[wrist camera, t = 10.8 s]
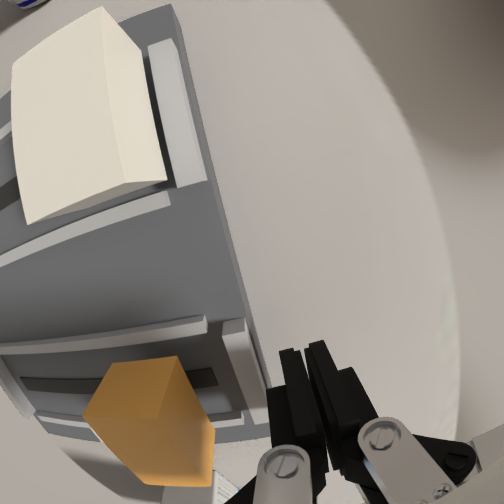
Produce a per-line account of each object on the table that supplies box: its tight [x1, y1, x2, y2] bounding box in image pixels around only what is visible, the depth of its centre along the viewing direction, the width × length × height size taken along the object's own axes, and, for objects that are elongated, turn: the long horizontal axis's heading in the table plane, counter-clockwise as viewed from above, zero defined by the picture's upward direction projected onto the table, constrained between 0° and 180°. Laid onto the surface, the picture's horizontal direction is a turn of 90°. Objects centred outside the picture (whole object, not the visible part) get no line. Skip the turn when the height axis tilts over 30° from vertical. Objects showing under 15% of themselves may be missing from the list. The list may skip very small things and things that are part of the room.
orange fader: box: [82, 356, 215, 487], centre depth 9 cm, size 4×3×4 cm, turn 13°
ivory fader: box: [11, 6, 167, 225], centre depth 6 cm, size 4×3×4 cm, turn 13°
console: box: [0, 4, 272, 444], centre depth 10 cm, size 20×17×3 cm
